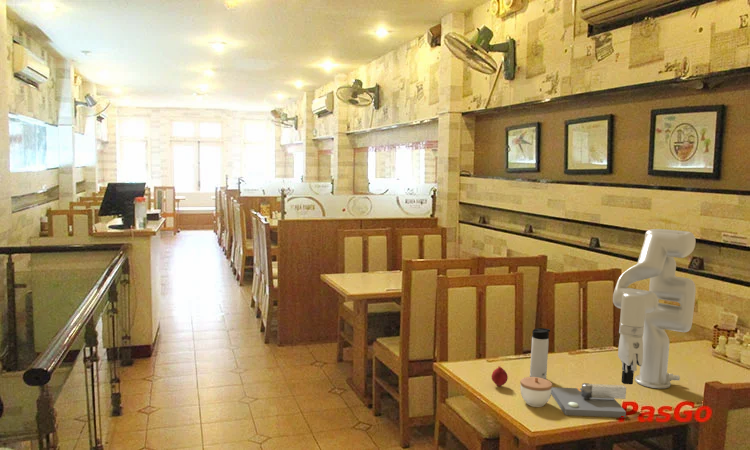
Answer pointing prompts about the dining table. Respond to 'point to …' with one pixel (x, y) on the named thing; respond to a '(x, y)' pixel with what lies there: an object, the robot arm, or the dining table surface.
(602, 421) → the dining table surface
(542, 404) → the lidded jar
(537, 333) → the travel mug
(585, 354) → the dining table surface
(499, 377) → the onion
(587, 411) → the base
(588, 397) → the light grey rectangular bar
